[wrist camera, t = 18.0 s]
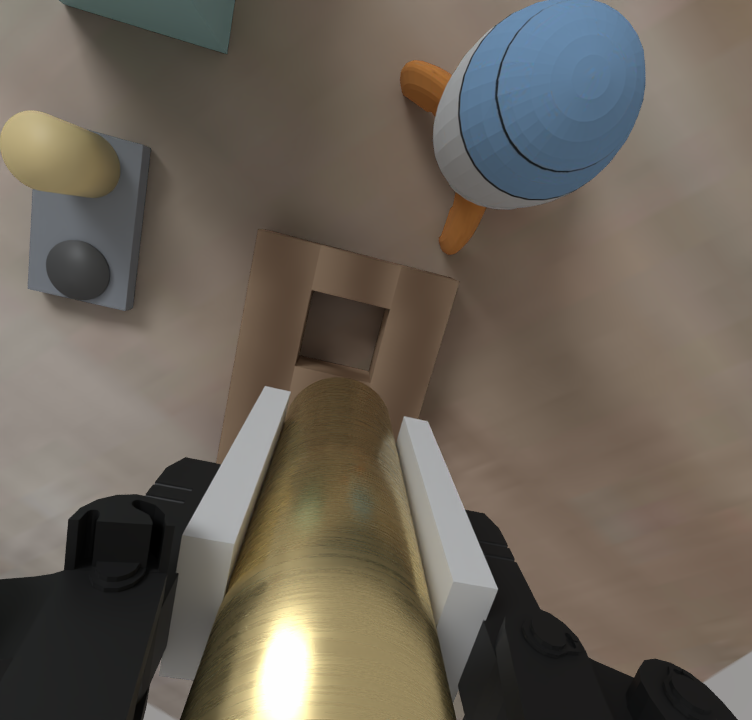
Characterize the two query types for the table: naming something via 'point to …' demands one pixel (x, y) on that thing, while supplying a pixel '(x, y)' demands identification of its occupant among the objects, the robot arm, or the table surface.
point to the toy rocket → (531, 108)
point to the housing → (171, 18)
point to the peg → (327, 581)
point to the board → (289, 316)
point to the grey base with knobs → (79, 207)
